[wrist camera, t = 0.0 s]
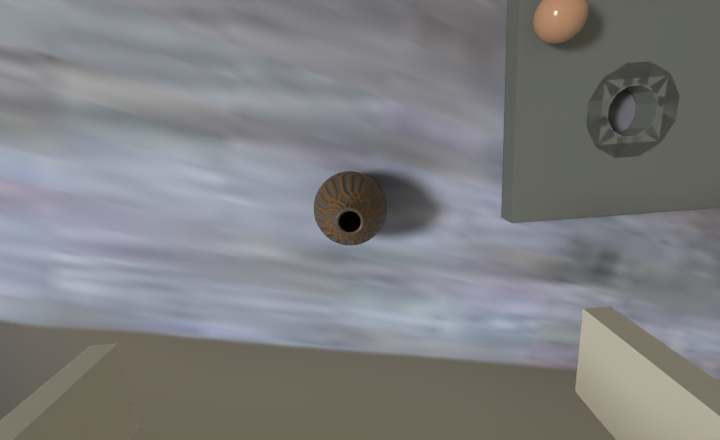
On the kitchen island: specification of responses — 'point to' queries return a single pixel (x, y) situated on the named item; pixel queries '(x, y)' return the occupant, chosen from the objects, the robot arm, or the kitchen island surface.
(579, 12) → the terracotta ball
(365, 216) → the vase
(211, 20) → the kitchen island surface
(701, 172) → the plate
